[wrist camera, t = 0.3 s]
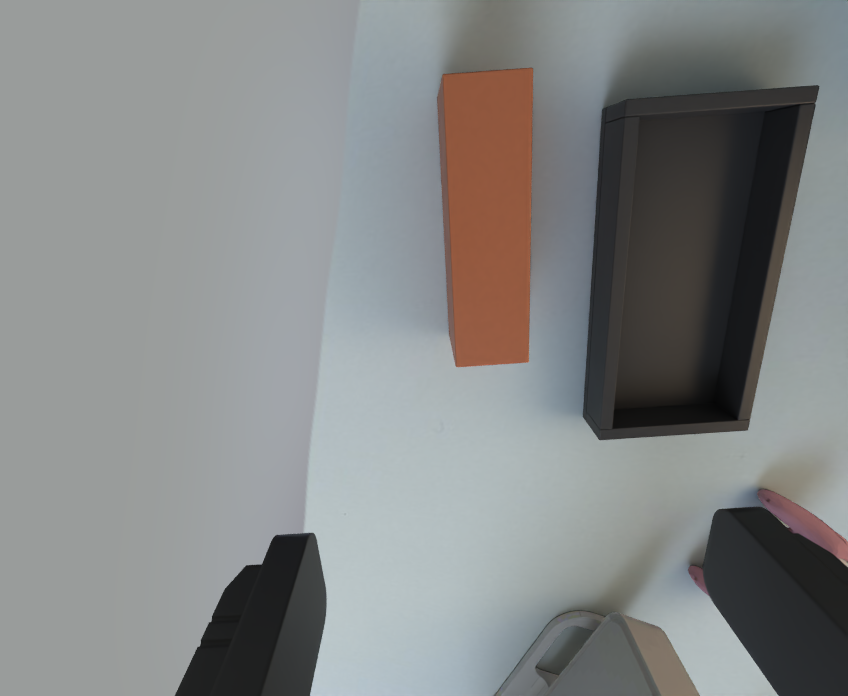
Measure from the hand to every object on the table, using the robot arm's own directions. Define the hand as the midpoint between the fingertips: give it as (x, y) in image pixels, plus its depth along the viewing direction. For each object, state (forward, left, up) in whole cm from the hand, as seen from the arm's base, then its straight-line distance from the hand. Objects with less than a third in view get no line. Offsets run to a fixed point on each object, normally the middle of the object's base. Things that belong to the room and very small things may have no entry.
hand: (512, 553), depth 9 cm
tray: (-1, +14, -21) cm, 25 cm away
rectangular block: (-5, +2, -21) cm, 22 cm away
